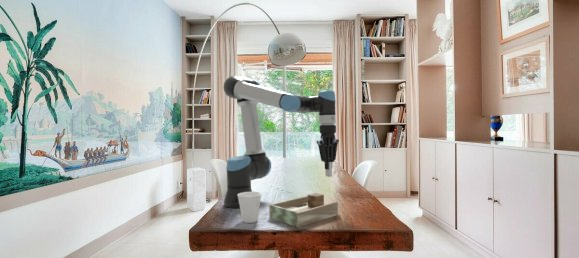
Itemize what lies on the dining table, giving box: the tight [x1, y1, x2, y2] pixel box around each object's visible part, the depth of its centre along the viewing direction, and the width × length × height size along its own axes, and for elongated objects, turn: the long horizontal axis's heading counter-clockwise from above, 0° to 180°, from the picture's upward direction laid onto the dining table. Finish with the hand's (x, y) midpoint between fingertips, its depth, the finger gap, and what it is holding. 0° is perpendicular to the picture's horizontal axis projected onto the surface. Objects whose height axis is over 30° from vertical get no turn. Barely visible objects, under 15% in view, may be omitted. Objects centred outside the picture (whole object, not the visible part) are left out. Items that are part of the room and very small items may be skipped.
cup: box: [237, 191, 262, 224], centre depth 129 cm, size 10×10×11 cm
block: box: [307, 192, 325, 208], centre depth 140 cm, size 5×5×5 cm
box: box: [268, 195, 339, 228], centre depth 135 cm, size 18×23×6 cm
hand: (328, 176), depth 145 cm, fingers closed
